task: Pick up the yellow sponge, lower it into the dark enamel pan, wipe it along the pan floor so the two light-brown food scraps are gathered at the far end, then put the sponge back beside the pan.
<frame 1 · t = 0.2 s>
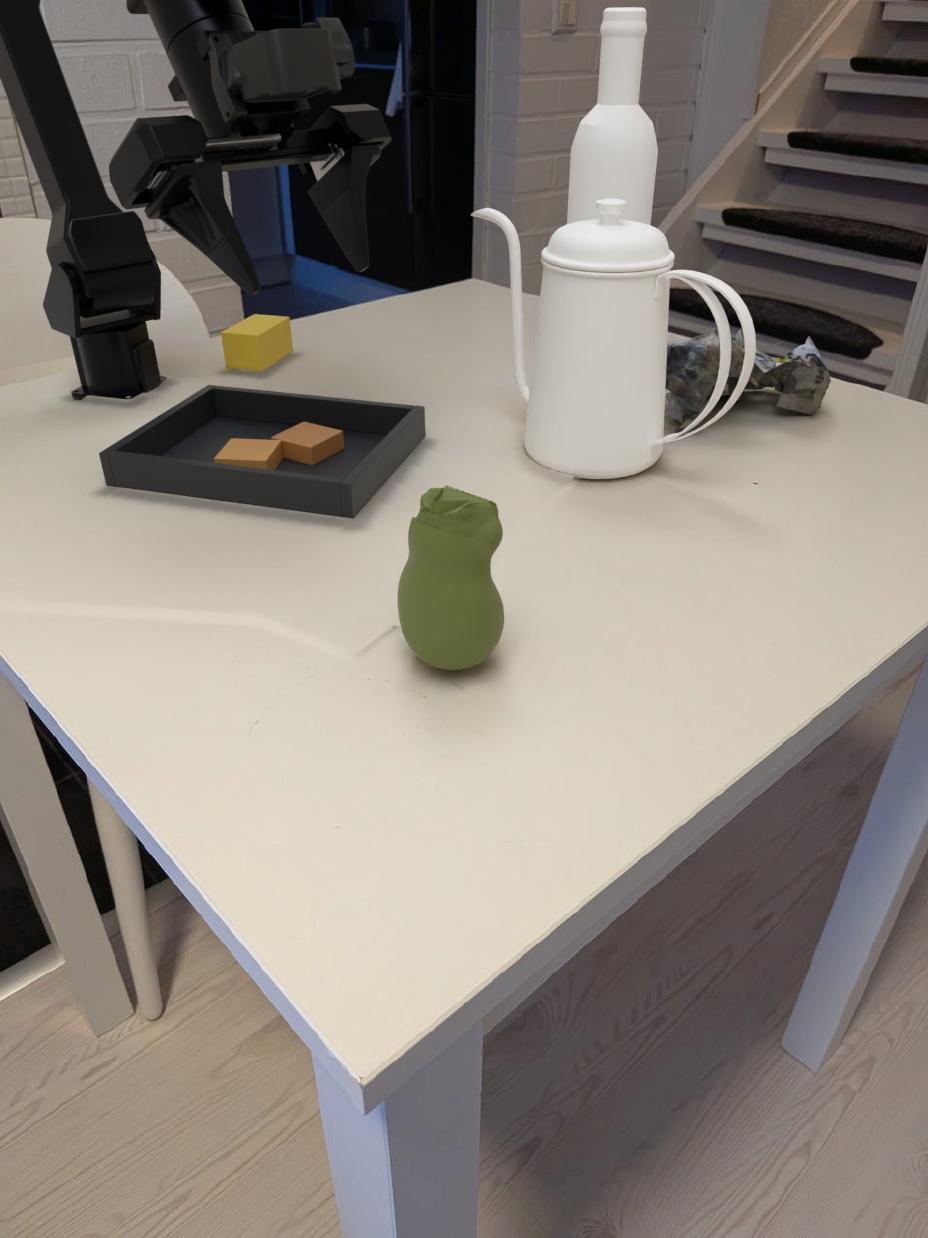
hand: (312, 280, 60), 15 cm above the table, tool tilted 30°, fingers open, 9 cm apart
scrap b: (309, 451, 72), point 1 cm above the table, touching pan, scrap a
sponge: (261, 363, 93), on the table
foil: (735, 413, 81), on the table
scrap a: (250, 467, 70), point 1 cm above the table, touching pan, scrap b
bottle: (597, 366, 92), on the table
pan: (275, 465, 71), on the table
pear: (453, 662, 50), on the table
coffeepot: (586, 456, 73), on the table
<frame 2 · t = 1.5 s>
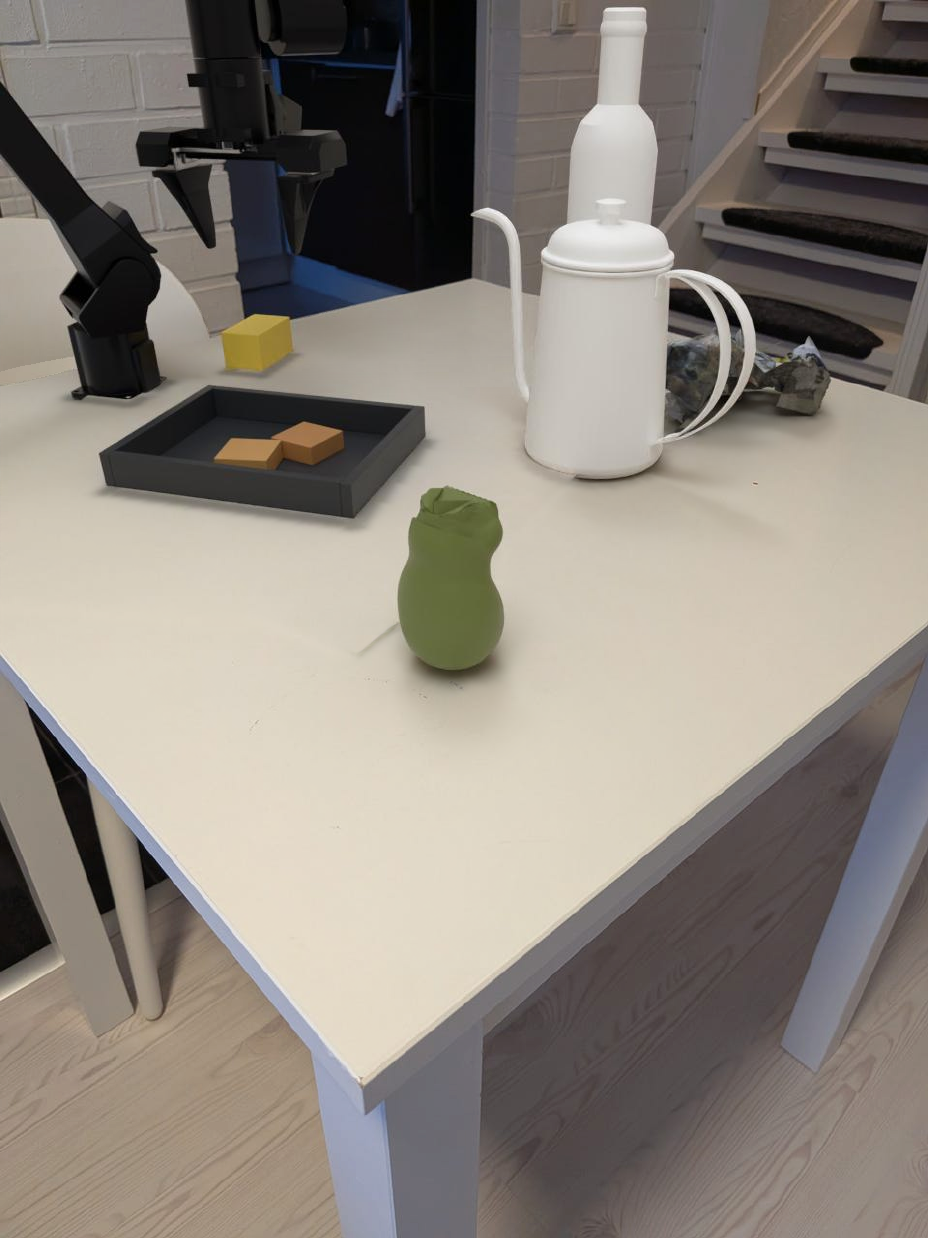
hand: (253, 250, 87), 11 cm above the table, tool pointing down, fingers open, 9 cm apart
nothing on the table moved.
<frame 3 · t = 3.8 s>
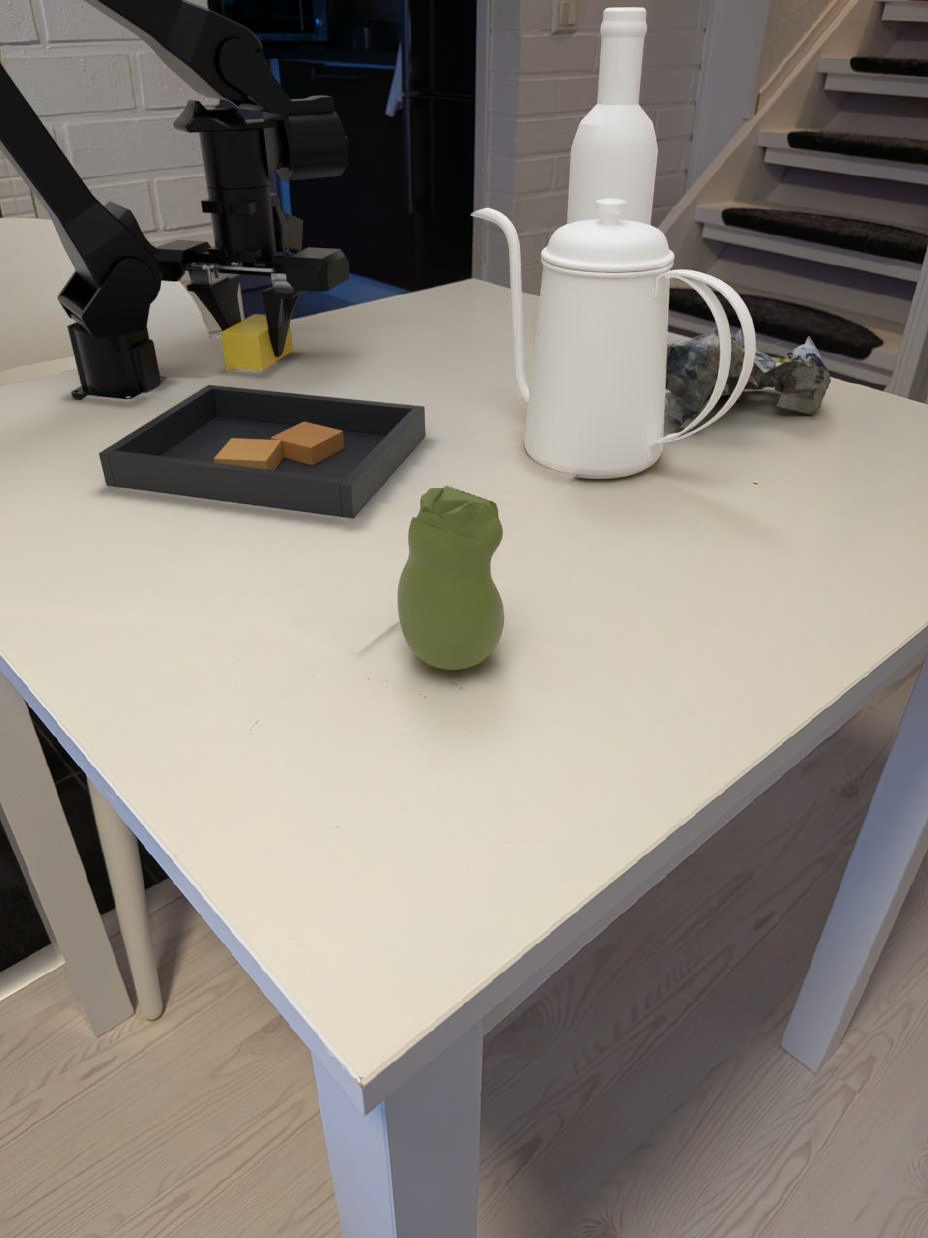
hand: (259, 354, 92), 1 cm above the table, tool pointing down, fingers closed on sponge, 4 cm apart
sponge: (260, 363, 93), on the table, touching gripper
everything else where it was.
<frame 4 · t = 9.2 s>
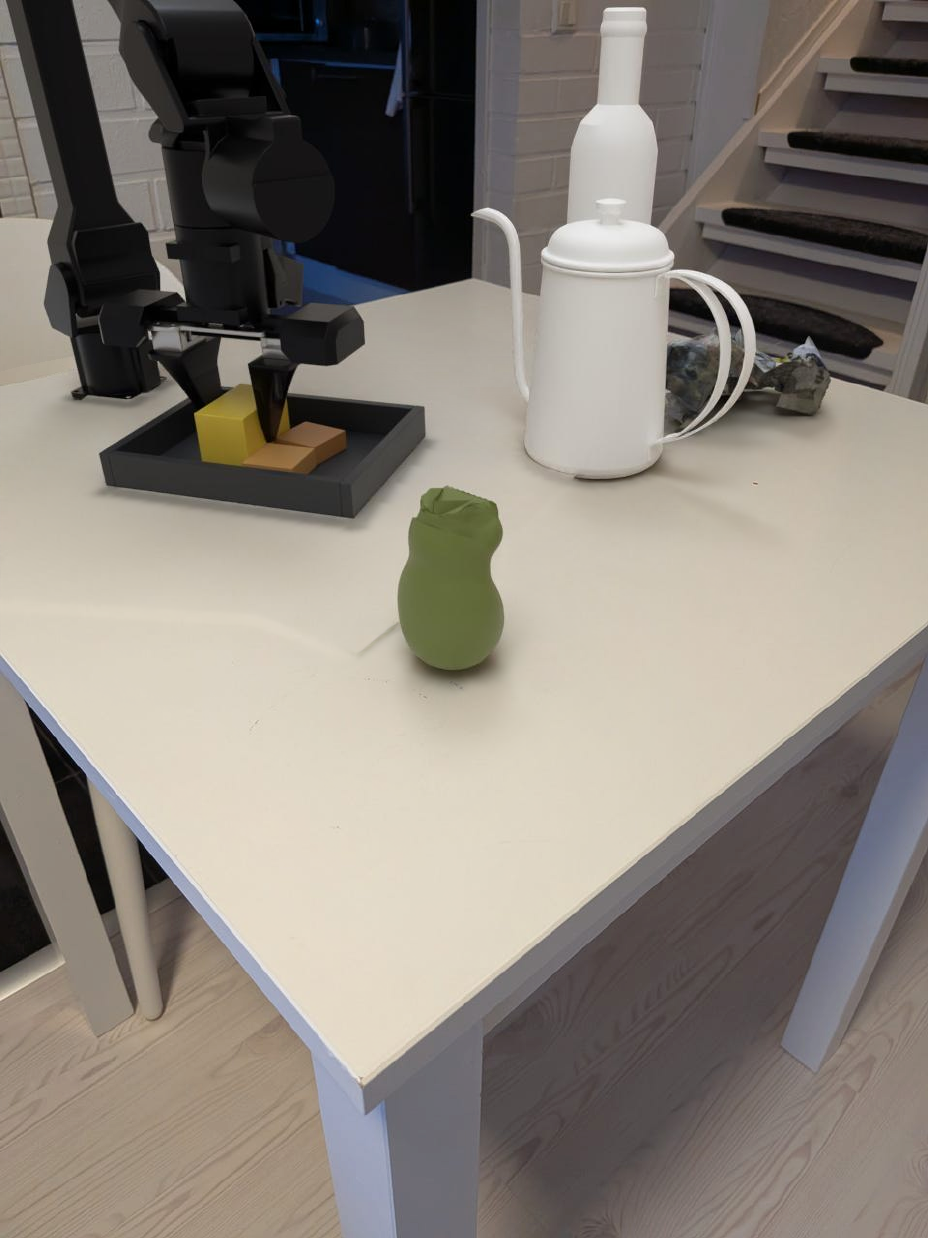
hand: (246, 437, 71), 2 cm above the table, tool pointing down, fingers closed on sponge, 4 cm apart
scrap b: (311, 451, 72), point 1 cm above the table, touching pan, sponge
sponge: (248, 449, 71), point 1 cm above the table, touching gripper, scrap b
scrap a: (281, 473, 69), point 1 cm above the table, touching pan
everything else where it was.
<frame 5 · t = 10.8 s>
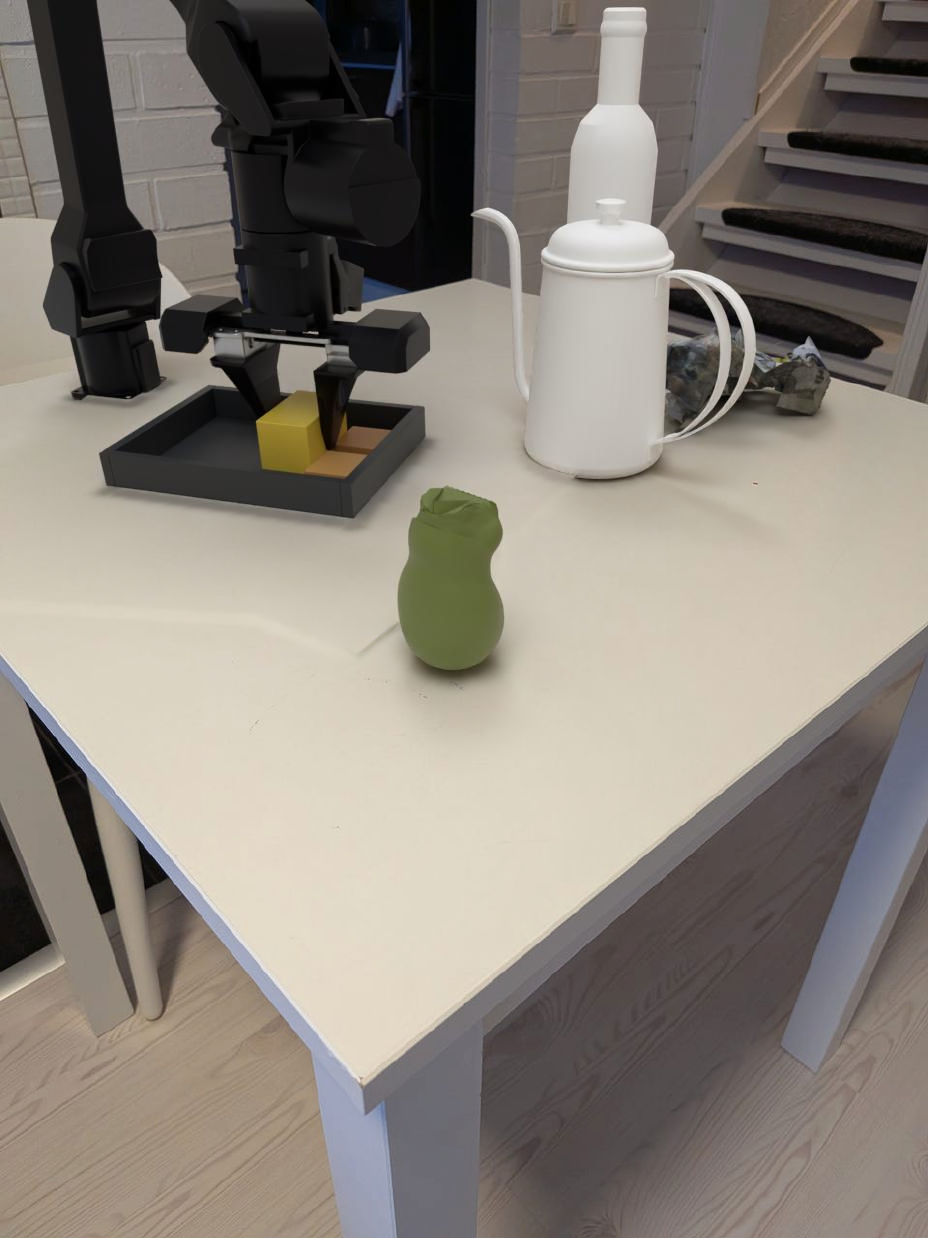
hand: (305, 445, 70), 2 cm above the table, tool pointing down, fingers closed on sponge, 4 cm apart
scrap b: (367, 455, 71), point 1 cm above the table, touching pan, sponge
sponge: (306, 457, 70), point 1 cm above the table, touching gripper, scrap a, scrap b
scrap a: (342, 481, 67), point 1 cm above the table, touching gripper, pan, sponge
everything else where it was.
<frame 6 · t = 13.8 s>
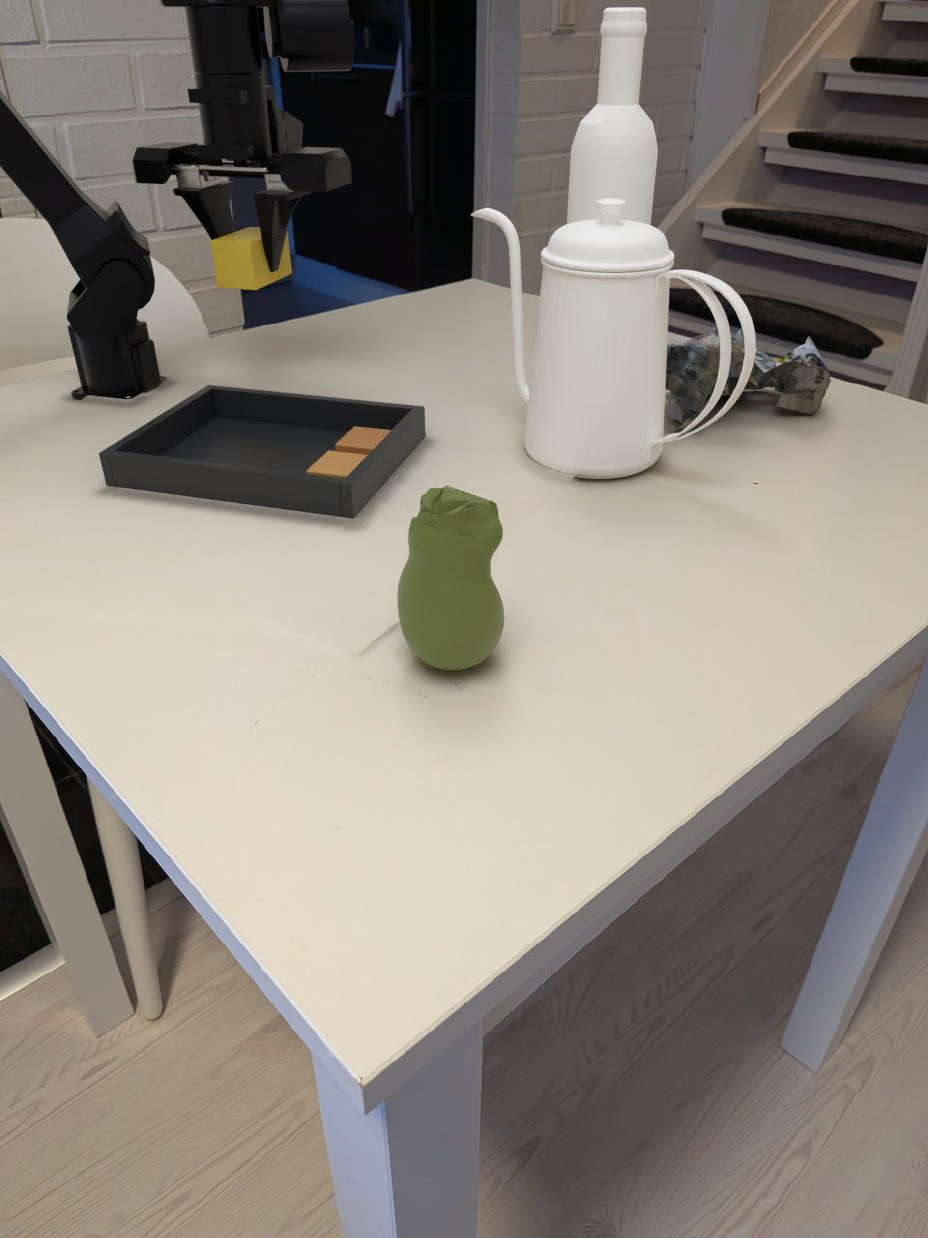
hand: (253, 269, 84), 10 cm above the table, tool pointing down, fingers closed on sponge, 4 cm apart
scrap b: (369, 455, 71), point 1 cm above the table, touching pan
sponge: (255, 280, 85), point 9 cm above the table, touching gripper
scrap a: (344, 482, 67), point 1 cm above the table, touching pan
everything else where it was.
when the fingers open (1 cm above the table, at t = 16.6 s): sponge stays where it is, on the table.
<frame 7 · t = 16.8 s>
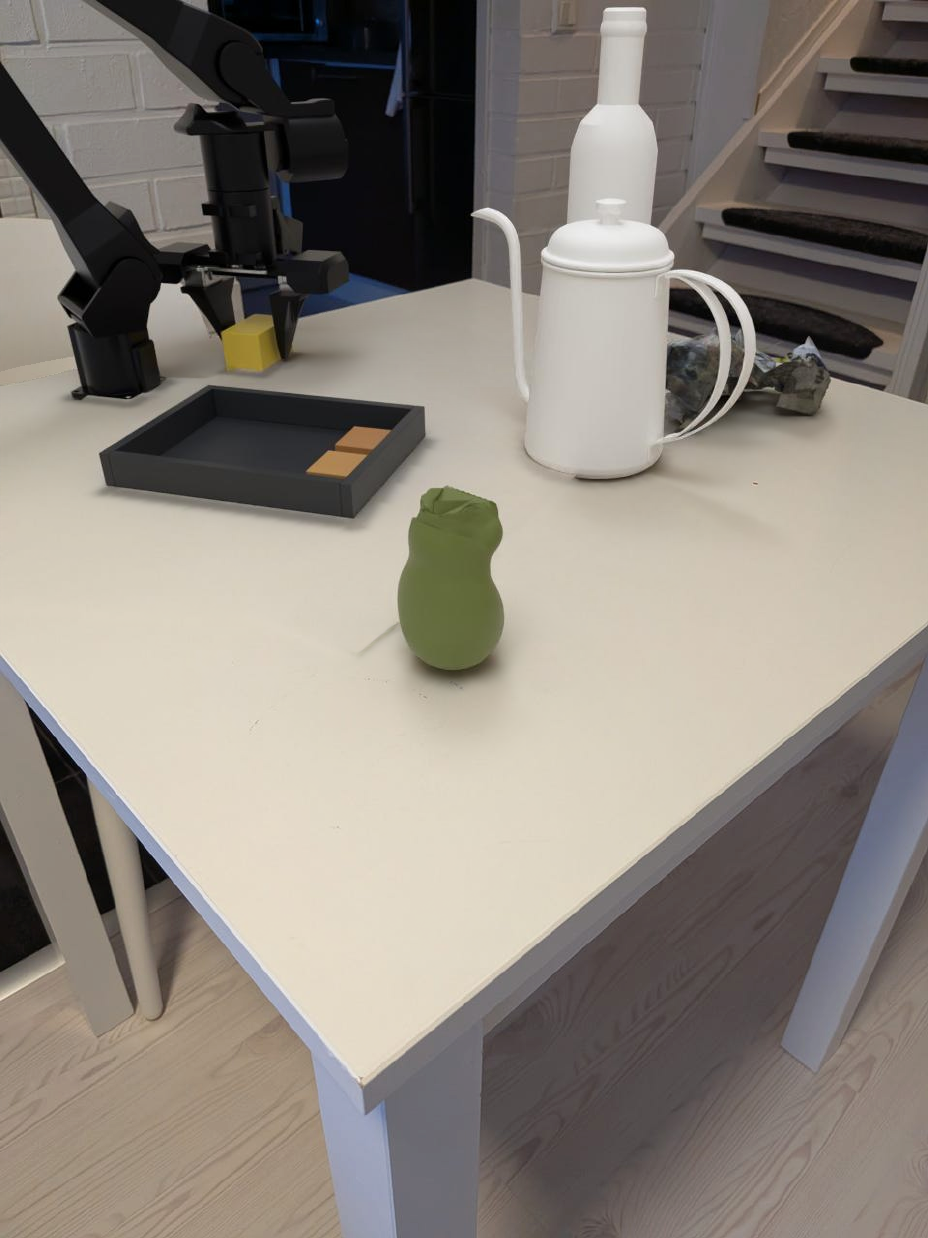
hand: (259, 356, 93), 1 cm above the table, tool pointing down, fingers open, 5 cm apart
sponge: (261, 363, 93), on the table
everything else where it was.
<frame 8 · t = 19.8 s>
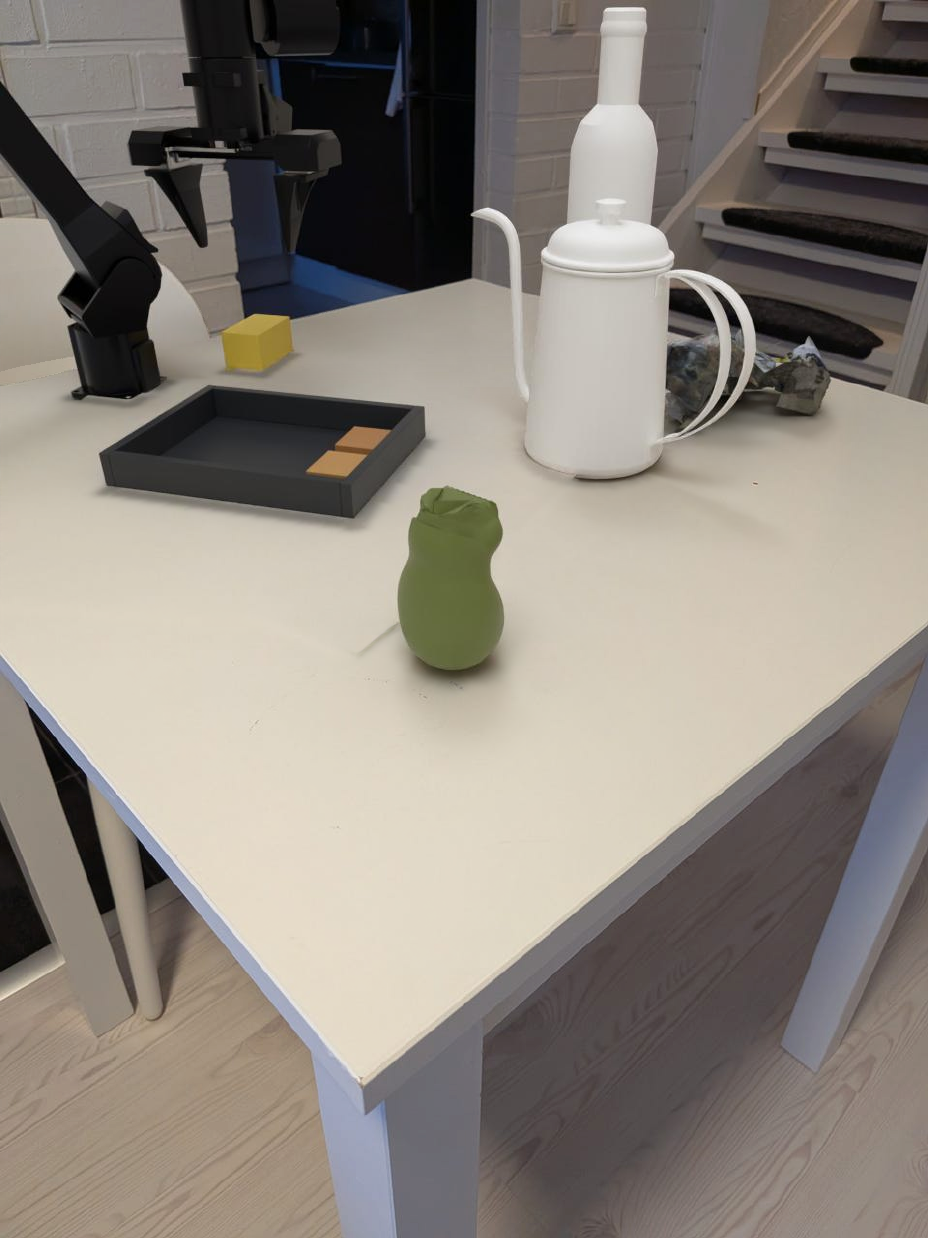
hand: (246, 249, 87), 11 cm above the table, tool pointing down, fingers open, 9 cm apart
nothing on the table moved.
at the end: scrap a inside the target area in the pan (2.7 cm from its centre), point 0.6 cm above the pan's base; scrap b inside the target area in the pan (2.7 cm from its centre), point 0.6 cm above the pan's base; the gripper is holding nothing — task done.
